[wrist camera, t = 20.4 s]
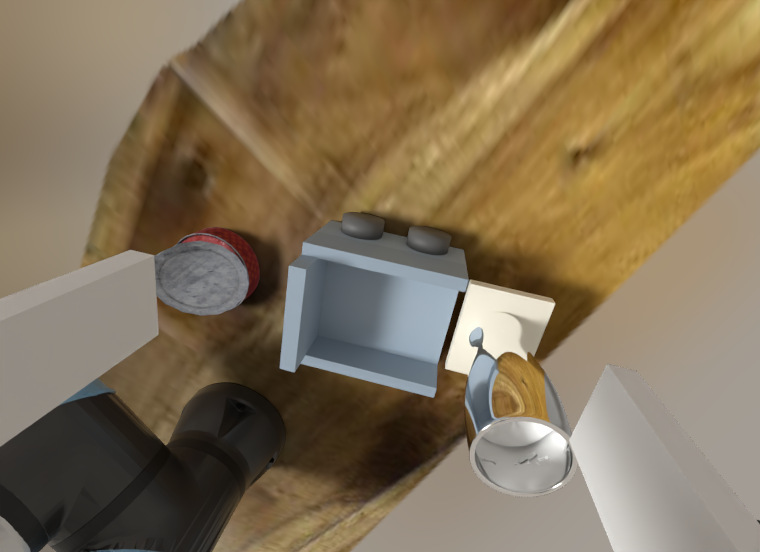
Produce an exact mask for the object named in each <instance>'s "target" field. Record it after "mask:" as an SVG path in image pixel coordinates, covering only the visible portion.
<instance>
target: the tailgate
mask: <svg viewBox="0 0 760 552" xmlns="http://www.w3.org/2000/svg"><path fill="white" fill-rule="evenodd" d="M554 306H555V302H554V300H553V299H552V298H549V297H544V296H540V295H536V294H531V293H527V292H523V291H519V290H514V289H510V288H506V287H501V286H497V285H493V284H488V283H484V282H480V281H476V280H471V279H470V281H469V285H468V288H467V291H466V295H465V298H464V302H463V305H462V308H461V312H460V315H459V318H458V322H457V325H456V328H455V332H454V335H453V338H452V342H451V345H450V349H449V352H448V355H447V359H446V362H445V369H448V370H452V371H456V372H460V373H464V374H468V372H469V368H470V364H471V358H470V355H469V353H468V351H467V348H466V344H465V335H466V332H467V329H468V327H469V326H470V324H471V323H472V322H473V321H474V320H475V319H476V318H478V317H480V316H482V315H484V314H487V313H491V312H503V313H507V314H510V315H512V316H514V317H516V318H518V319H519V320H520V321H521V322H522V323H523V324H524V326H525V327H526V329H527V331H528V334H529V349H530V352H531V354H532V355H533V357H534V355H535V353H536V350H537V348H538V345H539V343H540V341H541V338H542V336H543V333H544V331H545V328H546V326H547V323H548V321H549V318H550V316H551V313H552V311H553V308H554Z"/></svg>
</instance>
